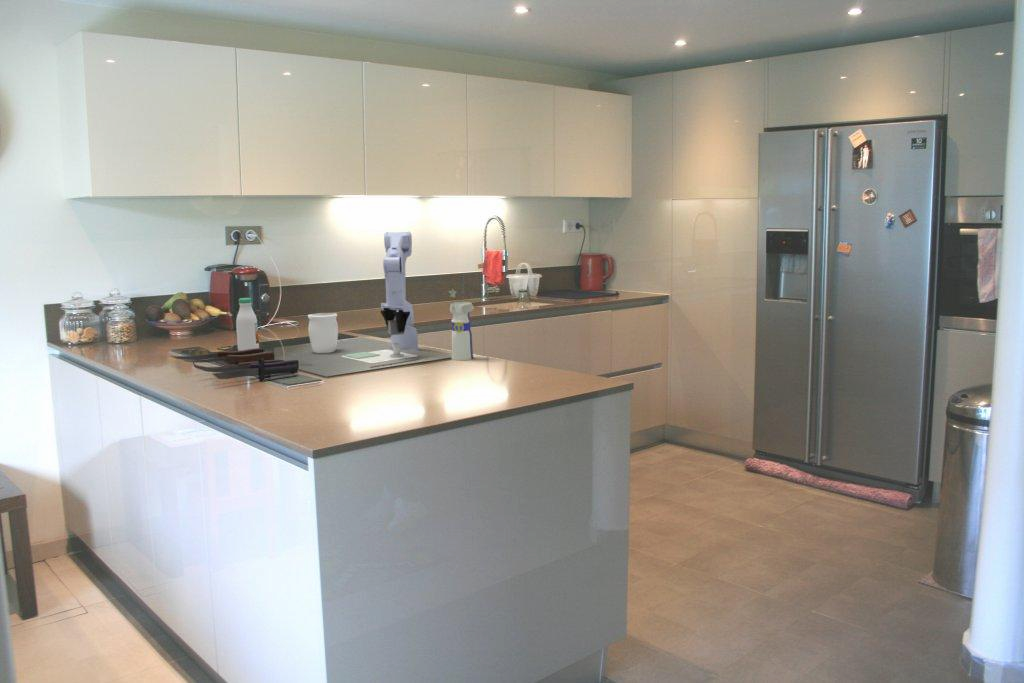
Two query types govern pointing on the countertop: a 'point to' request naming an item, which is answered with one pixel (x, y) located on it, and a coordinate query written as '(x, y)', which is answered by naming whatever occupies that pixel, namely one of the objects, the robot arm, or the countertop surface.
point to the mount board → (386, 356)
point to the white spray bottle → (461, 330)
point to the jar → (323, 332)
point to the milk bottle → (246, 326)
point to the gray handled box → (393, 327)
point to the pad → (361, 355)
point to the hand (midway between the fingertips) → (396, 331)
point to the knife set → (244, 363)
